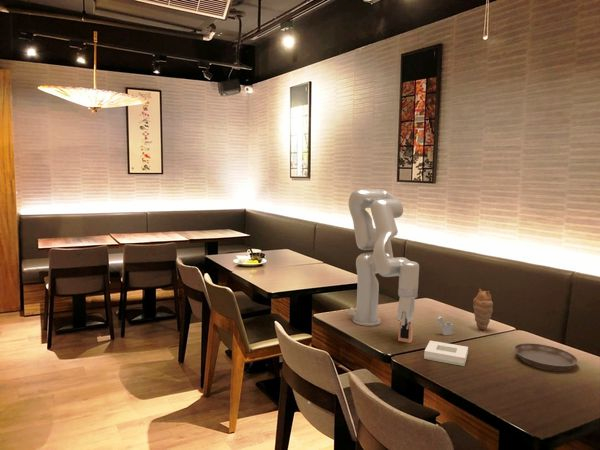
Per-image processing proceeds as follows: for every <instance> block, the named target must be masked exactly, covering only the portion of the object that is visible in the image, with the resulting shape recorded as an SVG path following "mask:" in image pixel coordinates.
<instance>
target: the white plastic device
mask: <svg viewBox="0 0 600 450" xmlns="http://www.w3.org/2000/svg"><path fill="white" fill-rule="evenodd" d="M436 319H437V321H438V325H439V326H440V327H442V331H441V332H442V333H441V335H442V336H451V335H452V336H453V334H454V324H453V323H452V322H451V321H446V322H444V320H443V317H442V316H441V315H439V316H437V317H436Z"/></svg>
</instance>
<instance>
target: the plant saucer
mask: <svg viewBox="0 0 600 450" xmlns="http://www.w3.org/2000/svg"><path fill="white" fill-rule="evenodd" d="M513 349H514V352H515V354H516V356H518V358H519V359H520V360H521V361H522V362H524V363H525V364H527V365H530V366H532V367H535V368H536V369H537V368H538V369H542V370H546V371H552V372H553V371H554V372H555V371H556V372H562V371H567V370H570V369H572V368H573V367H575V366H576V365H577V364H578V362H579V361H578V360H579V359H578V358H577V357H576V356H575V355H574V354H573V353H570V352H568V351H566V350H564V349H561V348H558V347H554V346H550V345H546V344H540V343H529V342H527V343H526V342H524V343H520V344H515V346H514V347H513Z"/></svg>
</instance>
